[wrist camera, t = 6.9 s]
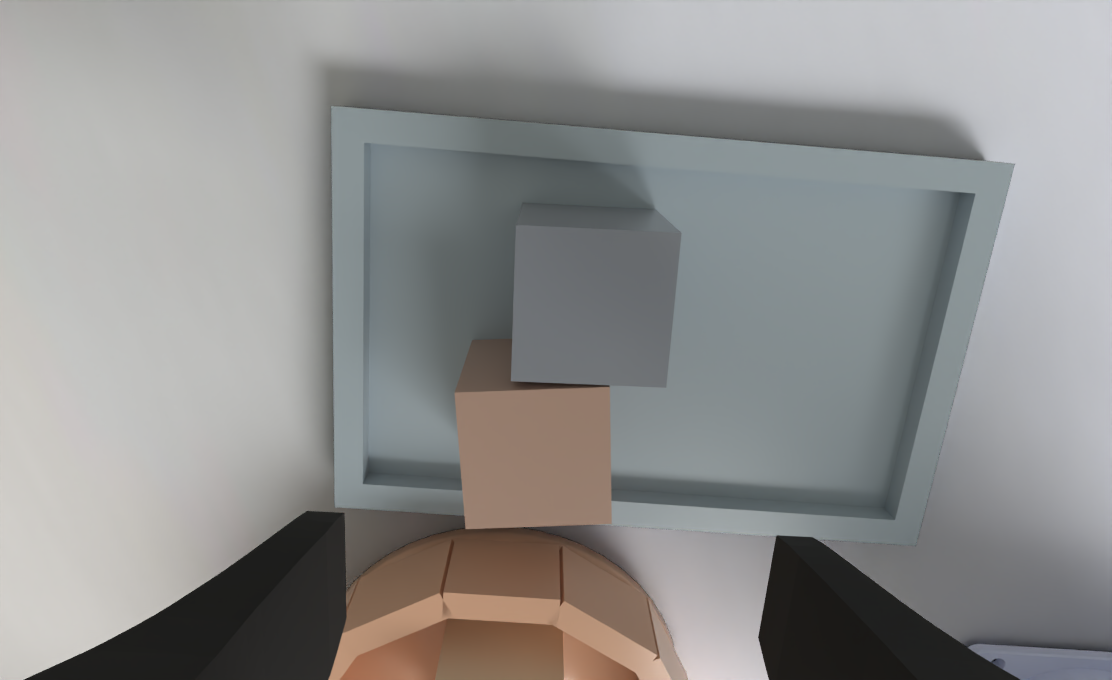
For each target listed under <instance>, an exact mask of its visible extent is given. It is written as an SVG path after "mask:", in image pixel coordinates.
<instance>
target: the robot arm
mask: <svg viewBox="0 0 1112 680" xmlns="http://www.w3.org/2000/svg"><path fill="white" fill-rule="evenodd" d="M346 618H347V612H346V567H345V522H344V513H334V512H314V511H307V512H305V513H304V514H302V515H301V516H299V517H298V518H296V519H295V520H293V521H292V522H291V523H289V524H288V525H286V526H285V527H284V528H282V529H281V530H280V531H278V532H277V533H276V534H274V535H273V536H272V537H270V538H269V539H267V540H266V541H265V542H263V543H262V544H261V545H259V546H258V547H257V548H255V549H254V550H252V551H251V552H250V553H248V554H247V555H245V556H244V557H243V558H241V559H240V560H238V561H237V562H236V563H234V564H233V565H231V566H230V567H229V568H227V569H226V570H224V571H223V572H221V573H220V574H218V575H217V576H215V577H214V578H212V579H211V580H209V581H208V582H206V583H205V584H203V585H201V586H200V587H198V588H197V589H195V590H194V591H192V592H191V593H189V594H188V595H186V596H184V597H183V598H181V599H180V600H178V601H177V602H175V603H174V604H172V605H171V606H169V607H167V608H166V609H164V610H162V611H161V612H159V613H157V614H156V615H154V616H152V617H150V618H149V619H147V620H145V621H143V622H142V623H140V624H138V625H136V626H134V627H132V628H131V629H129V630H127V631H125V632H123V633H121V634H119V635H117V636H115V637H114V638H112V639H110V640H108V641H106V642H104V643H102V644H100V645H98V646H96V647H94V648H92V649H90V650H88V651H86V652H84V653H82V654H79V655H77V656H75V657H73V658H71V659H68V660H66V661H64V662H62V663H60V664H57V665H55V666H53V667H51V668H49V669H46V670H44V671H42V672H40V673H38V674H35V675H33V676H31V677H29V678H27V679H24V680H328V679H329V677H330V674H331V671H332V668H333V664H334V661H335V658H336V654H337V651H338V647H339V644H340V640H341V637H342V633H343V629H344V626H345V622H346ZM758 638H759V642H760V646H761V650H762V654H763V658H764V662H765V666H766V670H767V674H768V677H769V680H1112V652H1102V651H1086V650H1070V649H1054V648H1038V647H1022V646H1006V645H990V644H974V645H971V646H969V647H966V646H964V645H963V644H961V643H960V642H958V641H957V640H955V639H954V638H952V637H951V636H949V635H948V634H946V633H945V632H943V631H942V630H940V629H939V628H937V627H936V626H934V625H933V624H932V623H930V622H929V621H927V620H926V619H924V618H923V617H922V616H920V615H919V614H917V613H916V612H915V611H913V610H912V609H910V608H909V607H908V606H906V605H905V604H904V603H902V602H901V601H899V600H898V599H897V598H895V597H894V596H893V595H891V594H890V593H889V592H887V591H886V590H885V589H883V588H882V587H881V586H879V585H878V584H877V583H875V582H874V581H873V580H871V579H870V578H869V577H867V576H866V575H865V574H863V573H862V572H861V571H859V570H858V569H857V568H855V567H854V566H853V565H852V564H850V563H849V562H848V561H846V560H845V559H843V558H842V557H841V556H839V555H838V554H837V553H835V552H834V551H833V550H831V549H830V548H828V547H827V546H826V545H824V544H823V543H821V542H820V541H818V540H816V539H815V538H813V537H801V536H781V535H777V536H776V541H775V547H774V553H773V558H772V564H771V570H770V575H769V581H768V586H767V592H766V598H765V603H764V609H763V615H762V620H761V626H760V631H759V637H758ZM994 659H997V660H996V661H994V662H992V663H991V661H993V660H994Z"/></svg>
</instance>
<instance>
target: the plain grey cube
mask: <svg viewBox="0 0 1112 680" xmlns="http://www.w3.org/2000/svg"><path fill="white" fill-rule="evenodd" d="M681 234H682V233H681V232H680V231H679V230H678V229H677V228H676V227H675V226H674V225H673V224H671V223H670V222H669V221H668V220H667V219H666V218H665V217H664V216H663V215H662V214H660V213H659V212H658V211H657V210H656V209H647V208H626V207H605V206H584V205H563V204H542V203H522V206H521V209H520V212H519V216H518V219H517V223H516V236H515V267H514V298H513V329H512V360H511V381H518V382H542V383H566V384H590V385H613V386H637V387H661V388H666V385H667V375H668V365H669V355H670V345H671V335H672V325H673V315H674V305H675V294H676V284H677V274H678V264H679V254H680V244H681Z"/></svg>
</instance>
